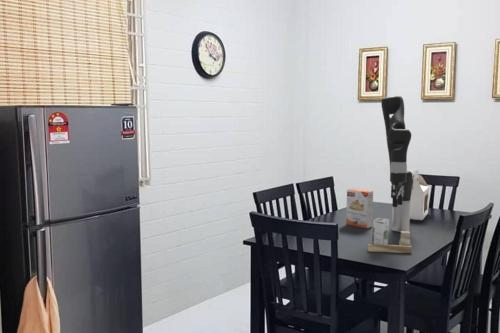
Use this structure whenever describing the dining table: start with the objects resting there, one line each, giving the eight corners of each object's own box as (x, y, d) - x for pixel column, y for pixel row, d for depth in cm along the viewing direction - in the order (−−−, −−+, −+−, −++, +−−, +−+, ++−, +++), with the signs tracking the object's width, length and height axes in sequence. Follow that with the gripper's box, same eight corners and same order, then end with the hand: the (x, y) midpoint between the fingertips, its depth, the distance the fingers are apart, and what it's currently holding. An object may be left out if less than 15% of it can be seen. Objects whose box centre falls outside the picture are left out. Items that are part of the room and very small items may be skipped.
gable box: (406, 211, 329) (408, 169, 326) (427, 213, 323) (429, 170, 320) (400, 218, 309) (401, 173, 306) (422, 220, 303) (424, 174, 300)
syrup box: (376, 246, 246) (377, 217, 244) (388, 248, 242) (389, 219, 241) (371, 249, 242) (372, 219, 240) (383, 251, 238) (384, 221, 236)
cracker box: (345, 224, 291) (346, 189, 288) (351, 223, 295) (352, 188, 293) (366, 229, 281) (367, 192, 279) (372, 227, 285) (373, 190, 283)
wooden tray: (365, 242, 253) (365, 226, 252) (406, 243, 250) (406, 228, 249) (368, 251, 237) (369, 234, 236) (412, 253, 234) (413, 236, 234)
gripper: (394, 170, 245) (393, 203, 246) (386, 172, 233) (385, 206, 234) (410, 171, 241) (409, 204, 242) (402, 172, 229) (401, 208, 230)
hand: (397, 205), depth 238 cm, fingers open, 8 cm apart
